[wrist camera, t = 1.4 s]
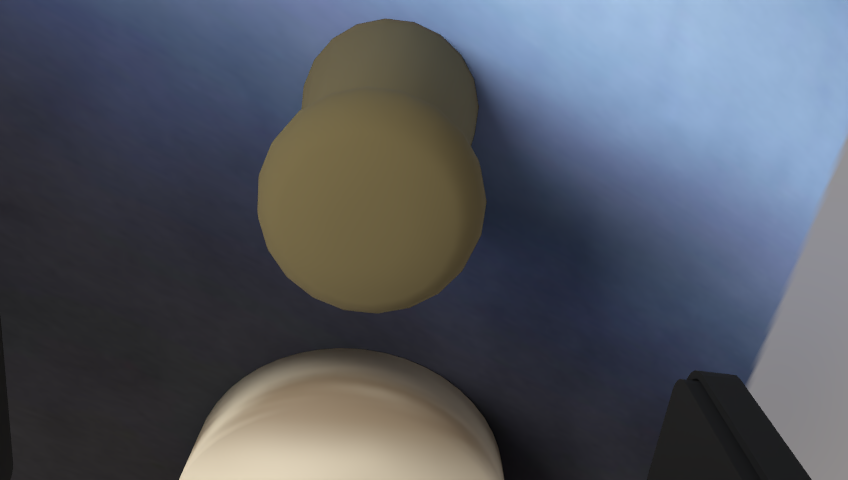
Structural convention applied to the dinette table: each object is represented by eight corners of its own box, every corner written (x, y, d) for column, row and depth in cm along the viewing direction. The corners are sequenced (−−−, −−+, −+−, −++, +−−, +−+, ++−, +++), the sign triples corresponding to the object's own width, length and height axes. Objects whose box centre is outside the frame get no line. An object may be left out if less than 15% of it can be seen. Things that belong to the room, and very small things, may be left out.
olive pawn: (324, -5, 25) (251, 47, 14) (501, 48, 25) (552, 133, 15) (285, 168, 27) (199, 317, 17) (449, 212, 27) (463, 382, 17)
